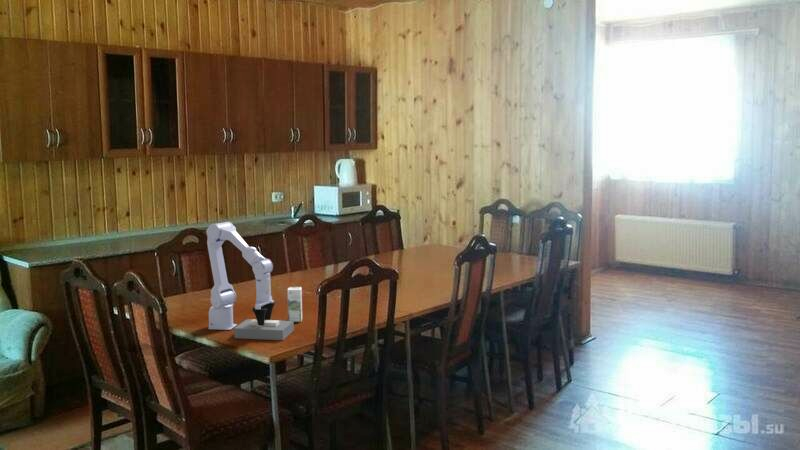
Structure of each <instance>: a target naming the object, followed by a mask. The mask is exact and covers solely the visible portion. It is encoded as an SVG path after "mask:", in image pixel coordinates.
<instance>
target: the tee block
mask: <svg viewBox="0 0 800 450" xmlns="http://www.w3.org/2000/svg"><path fill="white" fill-rule="evenodd" d="M252 319H253V318H252ZM250 325H252V326H260V327H272V326H277V325H279V320H278V319H277V320H275V319H273V320H272V319H270V320H265V321H264V325H258V322H257V319H256V320H255V319H253V320H252V321H251V322H250Z"/></svg>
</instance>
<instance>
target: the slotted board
mask: <svg viewBox="0 0 800 450" xmlns="http://www.w3.org/2000/svg"><path fill="white" fill-rule="evenodd" d="M252 320H253V318H250V319H249V318H247V319H245V320H244V321H242V322H241V323H238V324H237V325H236V326H235V327H233V330H234V332H233V335H234V337H233V338H234V339H243V340H244V339H245V340H246V339H247V340H249V339H250V340H266V341H267V340H269V341H272V340H273V341H284V340H285V339H286V338H287V337H288V336H290V334H291V333H292V332H294V330H295V329H294V326H295V324H294V323H295V322H294V321H288V320H279V325H277V326H272V327H260V326H252V325H250V322H251V321H252ZM255 320H257V319H255Z"/></svg>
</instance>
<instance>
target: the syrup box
mask: <svg viewBox="0 0 800 450" xmlns="http://www.w3.org/2000/svg"><path fill="white" fill-rule="evenodd" d="M286 292H287V321H294V323H302V321H303V288H302V286H289V287H288V288H287V291H286Z"/></svg>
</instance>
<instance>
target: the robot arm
mask: <svg viewBox="0 0 800 450" xmlns="http://www.w3.org/2000/svg"><path fill="white" fill-rule="evenodd" d="M205 232H206V236H207V241H206V244H207V251H208V256H209V261H210V267H211V273H212V278H213V283H214V285H213V287H212V288H211V290H210V298H209V299H210V303H211V305H212V306H210V308H209V310H208V330H219V331H221V330H224V331H229V330H230V331H231V330H232V329H234V328H235V327H237V326H238V324H237V323H234V308H233V307H234V306H235V304H234V303H235V302H236V301H237V294H236V292H235V290H234V285H232V284H231V283H229V280H228V275H227V270H226V263H225V258H224V254H223V253H224V252H223V247H222V245H223V244H224V242H225V241H229V242H230V243H232V245H233V246H235V247H236V248H237V249H238V250H239V251H241V256H242V258H244V260H245V261H246V262H247V263H248V264H249V265H250V266H251V267H252V272H253V274H254V278H255V290H256V292H255V293H256V294H255V295H256V296H255V297H256V299H255V304H254V307H253V308H252V312H253V314H254V315H255V318H256V320H257V322H258V325H264V321H265V320H272V319H271V318H272V314H273V309H274V307H275V304H276V303H275V300H274V299H273V296H272V291H271V288H272V287H271V272H273V270H274V263H273V262H272V260H271V259H270V258H266V257H264V256H263V255H262V254H261V253H260V252H259V251H258V250H257V248H256V247H254V246H249V244H247V242H246V241H245V240H244V238H243V237H242V236H241V235H240V234H239V233H238V232H237V228H236V226H234V224H233V223H232V222H230V221H225V222H218V223H211V224H210V225H209V226H208V227H207V229H206V231H205Z"/></svg>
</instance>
